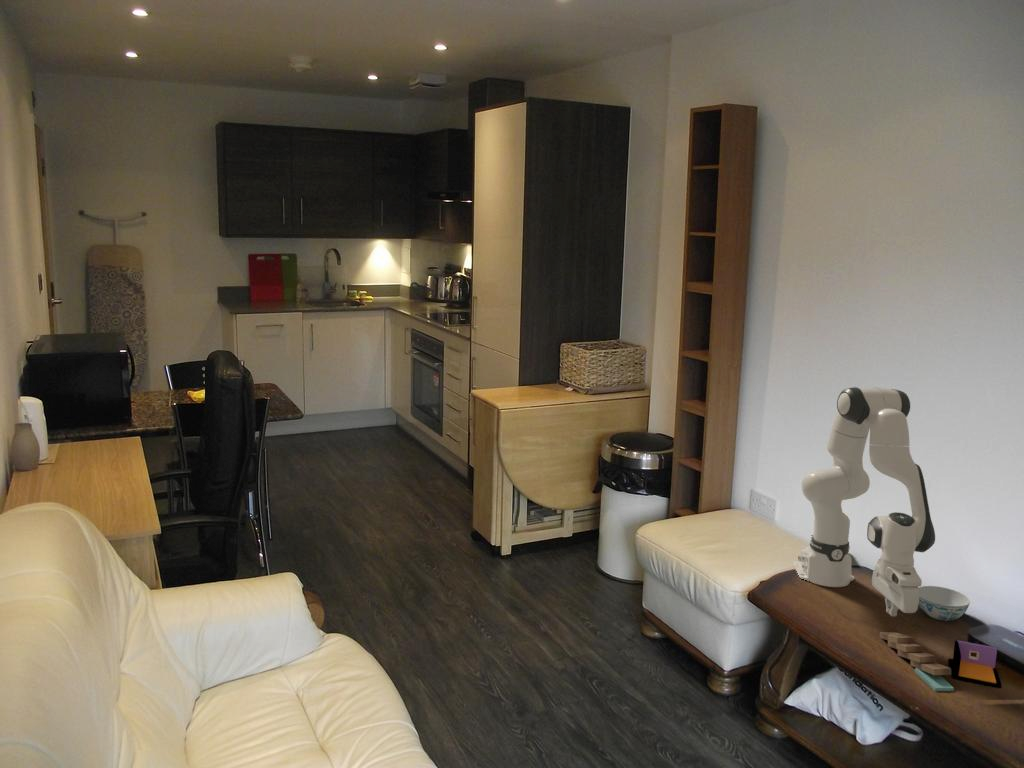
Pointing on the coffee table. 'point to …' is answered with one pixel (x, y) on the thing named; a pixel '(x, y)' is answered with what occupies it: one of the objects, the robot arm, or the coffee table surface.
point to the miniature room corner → (974, 664)
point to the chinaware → (942, 602)
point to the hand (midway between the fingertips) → (891, 614)
